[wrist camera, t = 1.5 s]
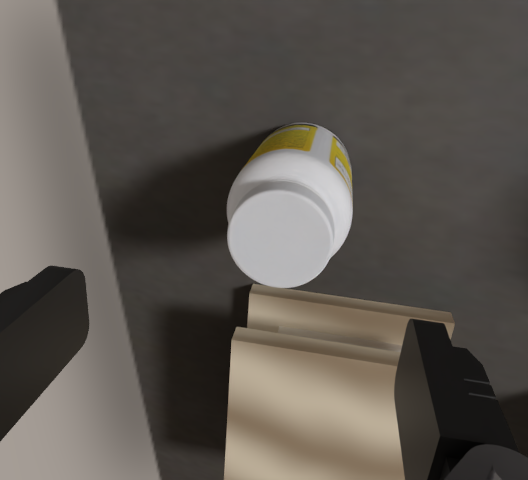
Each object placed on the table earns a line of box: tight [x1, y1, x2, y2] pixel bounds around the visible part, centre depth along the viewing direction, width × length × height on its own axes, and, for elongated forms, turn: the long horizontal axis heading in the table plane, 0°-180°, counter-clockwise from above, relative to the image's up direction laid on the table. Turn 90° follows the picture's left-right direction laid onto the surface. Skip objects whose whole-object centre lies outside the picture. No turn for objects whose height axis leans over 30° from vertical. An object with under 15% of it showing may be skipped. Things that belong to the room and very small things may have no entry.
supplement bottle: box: [227, 123, 353, 288], centre depth 22 cm, size 5×5×10 cm
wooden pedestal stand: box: [224, 284, 455, 480], centre depth 28 cm, size 12×12×6 cm
